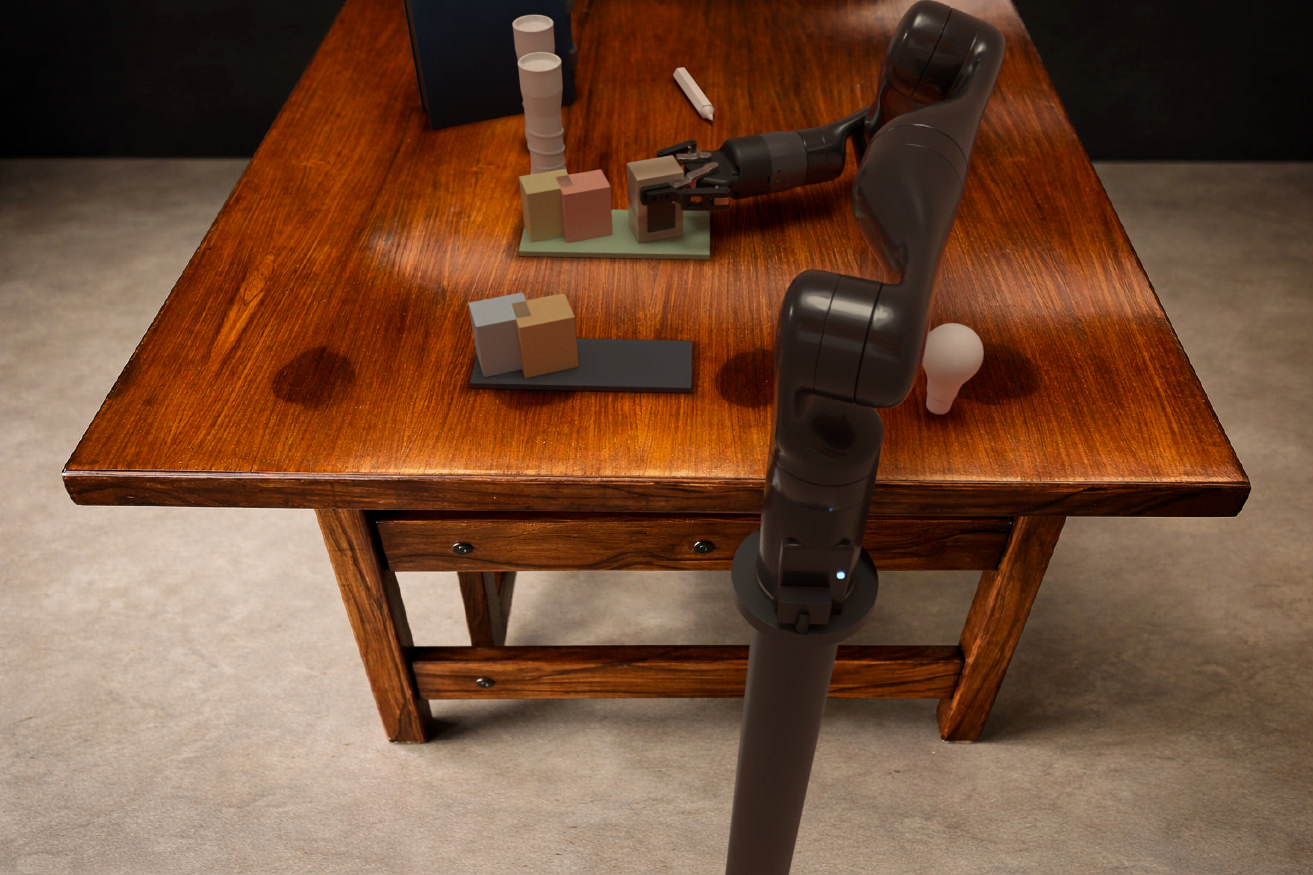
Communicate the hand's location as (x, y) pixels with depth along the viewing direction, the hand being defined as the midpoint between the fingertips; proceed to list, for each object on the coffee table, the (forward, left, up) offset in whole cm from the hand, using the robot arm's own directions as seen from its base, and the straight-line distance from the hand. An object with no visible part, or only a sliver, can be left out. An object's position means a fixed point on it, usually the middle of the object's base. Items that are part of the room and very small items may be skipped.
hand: (635, 186), depth 126 cm
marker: (+38, -7, -8) cm, 39 cm away
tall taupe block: (+1, -3, -7) cm, 7 cm away
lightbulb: (-31, -33, -8) cm, 46 cm away
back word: (+1, +3, -8) cm, 8 cm away
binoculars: (+18, +14, -8) cm, 24 cm away
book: (+37, +23, -8) cm, 44 cm away
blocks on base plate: (-25, +5, -8) cm, 27 cm away
